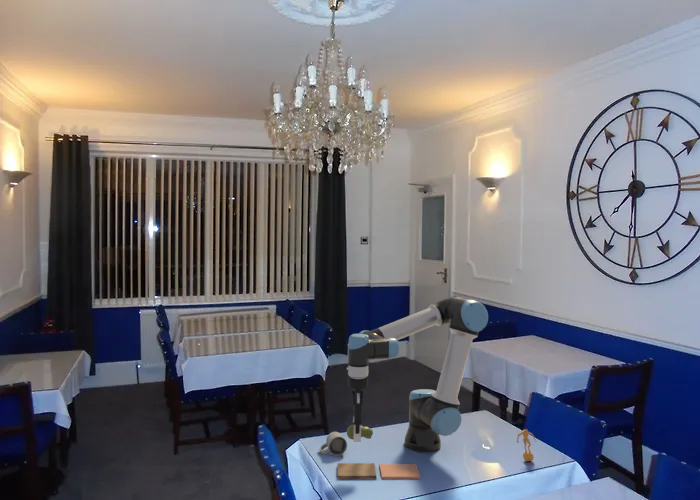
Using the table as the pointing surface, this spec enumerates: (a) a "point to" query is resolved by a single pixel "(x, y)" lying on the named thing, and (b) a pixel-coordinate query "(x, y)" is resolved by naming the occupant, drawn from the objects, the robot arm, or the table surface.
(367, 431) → the green oblong lump
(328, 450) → the ceramic mug
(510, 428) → the table surface
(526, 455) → the figurine
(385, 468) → the terracotta tile
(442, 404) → the robot arm
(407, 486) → the table surface
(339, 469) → the walnut board
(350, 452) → the table surface
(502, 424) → the table surface
